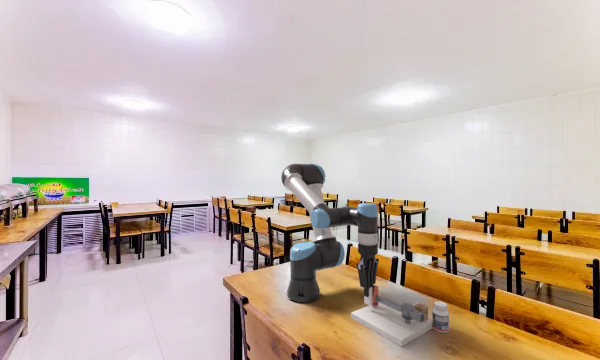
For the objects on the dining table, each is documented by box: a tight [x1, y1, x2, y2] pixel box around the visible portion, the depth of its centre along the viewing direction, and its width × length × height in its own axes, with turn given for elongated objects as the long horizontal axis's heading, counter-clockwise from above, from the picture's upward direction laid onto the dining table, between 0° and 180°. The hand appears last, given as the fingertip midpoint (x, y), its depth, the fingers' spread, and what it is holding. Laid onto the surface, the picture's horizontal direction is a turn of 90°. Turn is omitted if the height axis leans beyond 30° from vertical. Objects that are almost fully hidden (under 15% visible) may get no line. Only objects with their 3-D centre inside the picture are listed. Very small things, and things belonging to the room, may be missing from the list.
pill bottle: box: [431, 301, 450, 334], centre depth 96 cm, size 5×5×9 cm
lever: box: [372, 284, 424, 322], centre depth 101 cm, size 22×4×7 cm, turn 34°
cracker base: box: [350, 302, 433, 347], centre depth 100 cm, size 22×18×4 cm
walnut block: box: [413, 302, 429, 321], centre depth 99 cm, size 4×4×4 cm
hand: (368, 303), depth 106 cm, fingers closed
